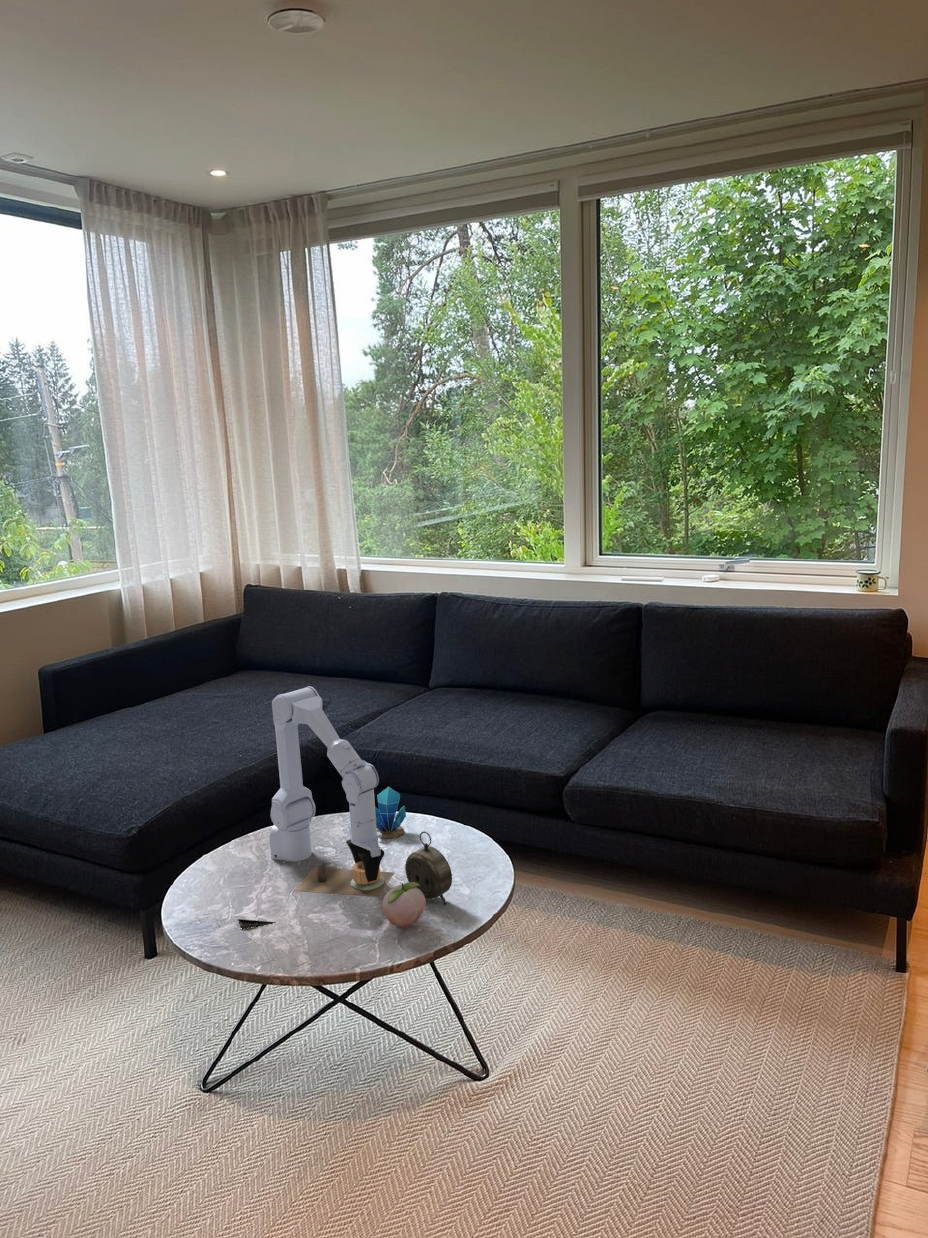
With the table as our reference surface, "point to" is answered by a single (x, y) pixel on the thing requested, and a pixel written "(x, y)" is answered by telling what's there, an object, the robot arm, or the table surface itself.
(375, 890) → the stand board
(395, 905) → the decorative fruit
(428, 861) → the alarm clock
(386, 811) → the gemstone
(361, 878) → the ring
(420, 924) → the table surface
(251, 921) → the black wedge
